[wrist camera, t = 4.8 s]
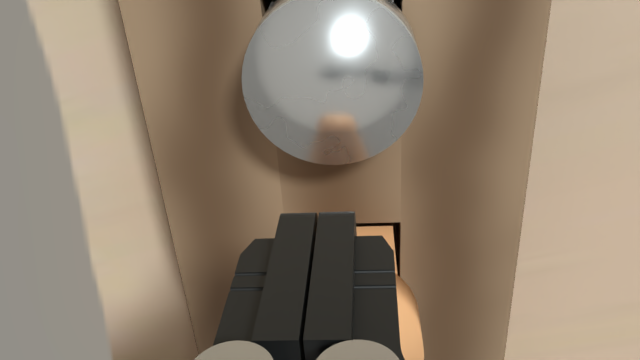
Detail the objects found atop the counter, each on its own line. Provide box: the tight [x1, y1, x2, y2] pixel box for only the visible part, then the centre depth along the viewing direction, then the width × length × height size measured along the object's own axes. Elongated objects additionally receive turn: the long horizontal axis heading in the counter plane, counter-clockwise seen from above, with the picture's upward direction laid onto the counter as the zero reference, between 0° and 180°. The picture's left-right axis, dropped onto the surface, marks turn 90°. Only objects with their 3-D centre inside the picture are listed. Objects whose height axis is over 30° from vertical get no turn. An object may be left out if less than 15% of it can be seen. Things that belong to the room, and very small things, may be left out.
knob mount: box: [118, 0, 551, 360], centre depth 26 cm, size 14×28×4 cm, turn 4°
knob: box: [242, 0, 424, 165], centre depth 21 cm, size 6×6×5 cm
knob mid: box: [356, 226, 424, 360], centre depth 23 cm, size 6×6×5 cm
